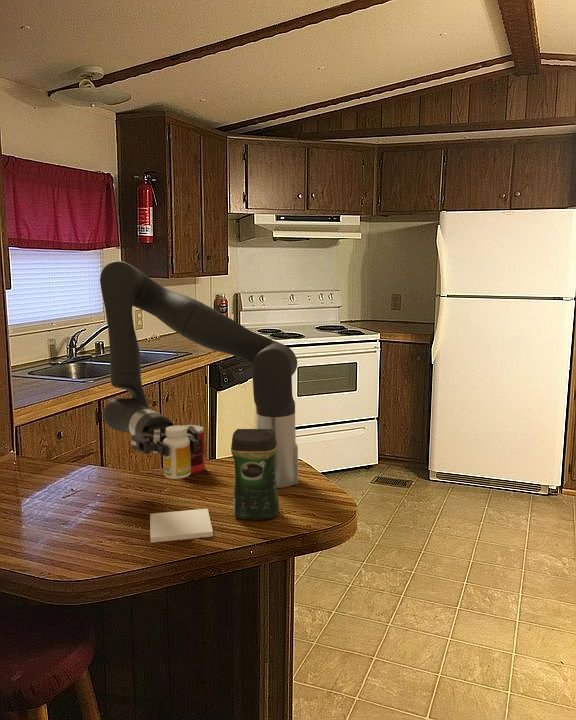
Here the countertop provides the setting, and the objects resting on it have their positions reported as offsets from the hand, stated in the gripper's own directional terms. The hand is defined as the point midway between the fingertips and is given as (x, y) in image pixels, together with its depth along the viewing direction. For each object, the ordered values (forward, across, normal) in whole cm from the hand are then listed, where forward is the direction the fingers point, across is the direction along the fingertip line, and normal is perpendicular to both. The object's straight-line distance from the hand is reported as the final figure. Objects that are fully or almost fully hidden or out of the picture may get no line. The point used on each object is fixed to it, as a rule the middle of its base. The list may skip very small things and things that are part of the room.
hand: (181, 449), depth 129 cm
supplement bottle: (-3, 0, +6) cm, 7 cm away
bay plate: (-2, 0, +17) cm, 17 cm away
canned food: (-34, +16, +18) cm, 41 cm away
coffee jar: (0, +16, +17) cm, 24 cm away
